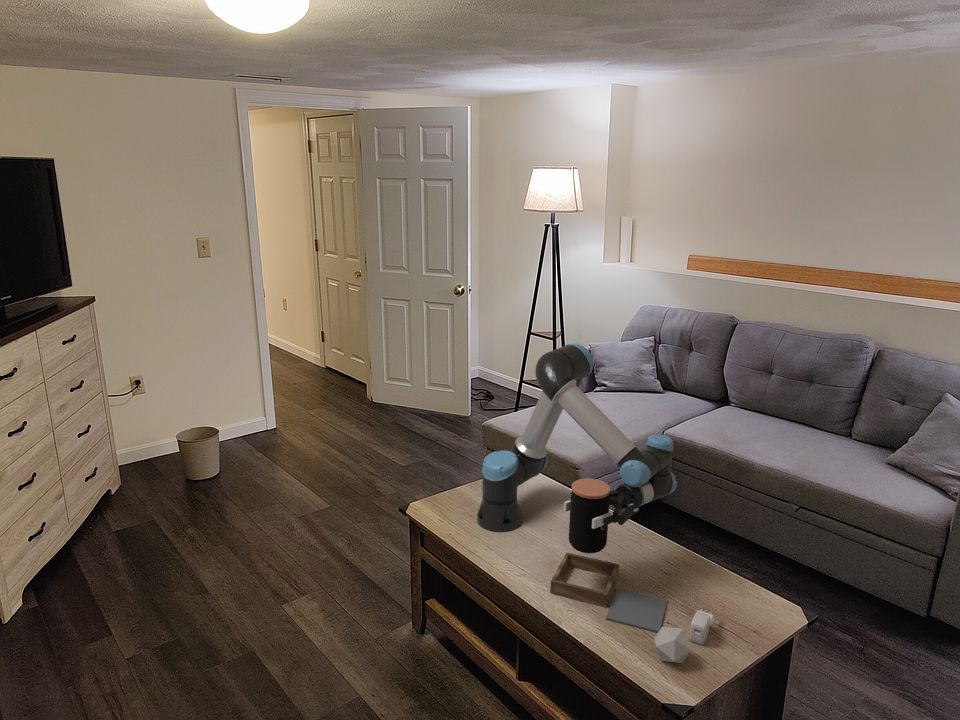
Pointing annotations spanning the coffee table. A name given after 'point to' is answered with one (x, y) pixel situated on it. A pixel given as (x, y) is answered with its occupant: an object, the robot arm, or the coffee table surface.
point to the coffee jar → (588, 514)
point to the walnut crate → (582, 592)
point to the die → (672, 644)
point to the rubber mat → (637, 610)
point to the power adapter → (701, 626)
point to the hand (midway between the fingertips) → (578, 515)
